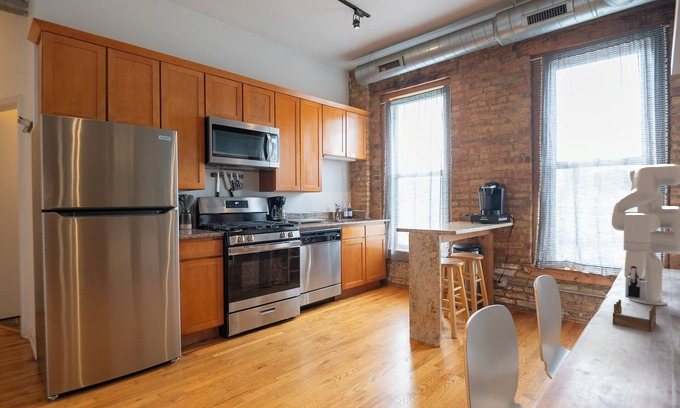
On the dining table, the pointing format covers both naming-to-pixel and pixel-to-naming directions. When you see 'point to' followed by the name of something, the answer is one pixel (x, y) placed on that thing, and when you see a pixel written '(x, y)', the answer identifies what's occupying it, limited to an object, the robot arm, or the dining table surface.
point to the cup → (642, 289)
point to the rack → (634, 319)
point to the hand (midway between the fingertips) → (635, 294)
